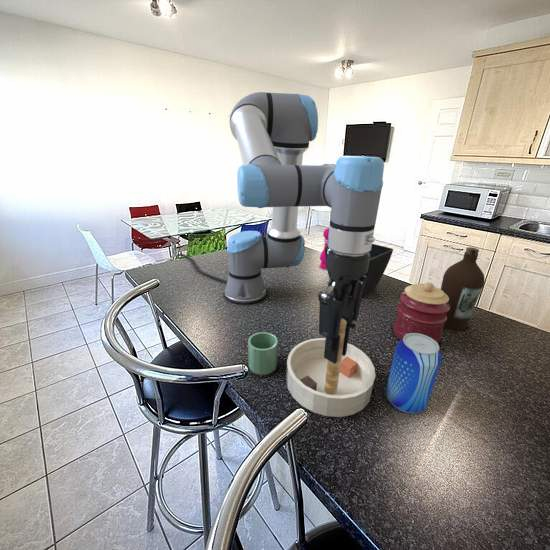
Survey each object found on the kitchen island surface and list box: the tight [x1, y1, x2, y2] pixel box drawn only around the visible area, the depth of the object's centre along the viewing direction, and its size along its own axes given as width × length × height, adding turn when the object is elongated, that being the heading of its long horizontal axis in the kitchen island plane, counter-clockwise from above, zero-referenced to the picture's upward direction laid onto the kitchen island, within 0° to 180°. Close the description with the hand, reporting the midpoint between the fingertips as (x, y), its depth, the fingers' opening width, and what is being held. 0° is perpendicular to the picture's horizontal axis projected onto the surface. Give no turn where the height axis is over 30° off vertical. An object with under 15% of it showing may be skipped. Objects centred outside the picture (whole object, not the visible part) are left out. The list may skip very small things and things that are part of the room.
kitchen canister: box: [392, 281, 450, 344], centre depth 84 cm, size 13×13×18 cm
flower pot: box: [325, 243, 394, 297], centre depth 113 cm, size 19×19×17 cm
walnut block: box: [300, 376, 317, 391], centre depth 65 cm, size 3×3×3 cm
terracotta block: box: [340, 357, 357, 378], centre depth 71 cm, size 3×3×3 cm
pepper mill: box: [319, 224, 330, 270], centre depth 131 cm, size 7×7×20 cm
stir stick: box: [324, 318, 347, 394], centre depth 61 cm, size 3×3×18 cm
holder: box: [247, 331, 279, 376], centre depth 72 cm, size 7×7×8 cm
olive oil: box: [440, 246, 485, 331], centre depth 90 cm, size 11×11×25 cm
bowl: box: [285, 337, 376, 418], centre depth 68 cm, size 20×20×6 cm
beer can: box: [385, 333, 443, 414], centre depth 61 cm, size 8×8×16 cm
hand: (335, 355), depth 61 cm, fingers closed on stir stick, 3 cm apart
